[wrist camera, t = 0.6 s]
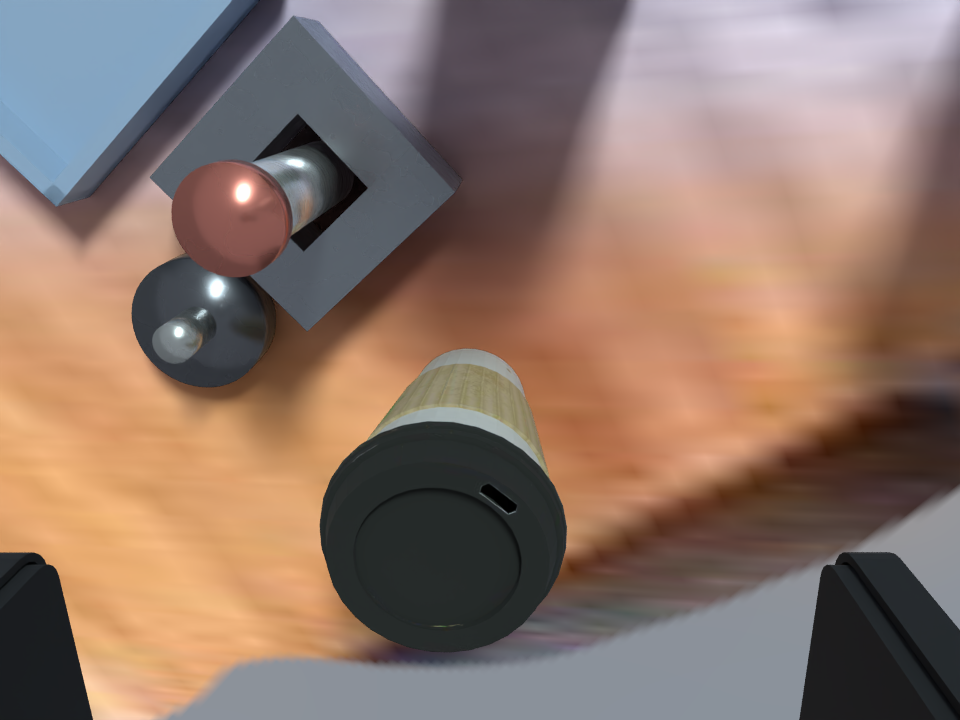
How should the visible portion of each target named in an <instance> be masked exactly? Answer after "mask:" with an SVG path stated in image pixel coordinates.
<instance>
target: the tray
mask: <svg viewBox="0 0 960 720" xmlns="http://www.w3.org/2000/svg"><path fill="white" fill-rule="evenodd" d="M259 1H260V0H0V154H1V155H2V156H3V157H4V158H5V159H6V160H7V161H8V162H9V163H10V164H11V165H12V166H13V167H15V168H16V169H17V170H18V171H19V172H20V173H21V174H22V175H23V176H24V177H25V178H26V179H27V180H28V181H29V182H31V183H32V184H33V185H34V186H35V187H36V188H37V189H38V190H39V191H40V192H41V193H42V194H43V195H44V196H46V197H47V198H48V199H49V200H50V201H51V202H52V203H53V204H54V205H55V206H56V207H57V206H60V205H64V204H67V203H71V202H74V201H78V200H81V199H84V198H88V197H90V196H91V195H92V194H93V193H94V191H95V190H96V189H97V188H98V187H99V186H100V184H101V183H102V182H103V181H104V180H105V179H106V177H107V176H108V175H109V174H110V173H111V172H112V171H113V169H114V168H115V167H116V166H117V165H118V164H119V162H120V161H121V160H122V159H123V158H124V157H125V156H126V154H127V153H128V152H129V151H130V150H131V149H132V147H133V146H134V145H135V144H136V143H137V142H138V141H139V139H140V138H141V137H142V136H143V135H144V134H145V132H146V131H147V130H148V129H149V128H150V127H151V126H152V124H153V123H154V122H155V121H156V120H157V119H158V117H159V116H160V115H161V114H162V113H163V112H164V110H165V109H166V108H167V107H168V106H169V105H170V104H171V102H172V101H173V100H174V99H175V98H176V97H177V95H178V94H179V93H180V92H181V91H182V90H183V89H184V87H185V86H186V85H187V84H188V83H189V82H190V80H191V79H192V78H193V77H194V76H195V75H196V74H197V72H198V71H199V70H200V69H201V68H202V67H203V65H204V64H205V63H206V62H207V61H208V60H209V59H210V57H211V56H212V55H213V54H214V53H215V52H216V50H217V49H218V48H219V47H220V46H221V45H222V43H223V42H224V41H225V40H226V39H227V38H228V37H229V35H230V34H231V33H232V32H233V31H234V30H235V28H236V27H237V26H238V25H239V24H240V23H241V22H242V20H243V19H244V18H245V17H246V16H247V15H248V13H249V12H250V11H251V10H252V9H253V8H254V7H255V5H256V4H257V3H258V2H259Z"/></svg>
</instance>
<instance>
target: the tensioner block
mask: <svg viewBox="0 0 960 720" xmlns="http://www.w3.org/2000/svg"><path fill="white" fill-rule="evenodd" d="M306 124H308V125H309V126H310V127H311V128H312V129H313V130H314V131H315V132H316V133H317V134H318V135H319V137H320V138H321V139H322V140H323V141H324V142H325V143H326V144H327V145H328V146H329V147H330V148H331V149H332V150H333V151H334V152H335V153H336V155H337V156H338V157H339V158H340V159H341V160H342V161H343V162H344V163H345V164H346V165H347V166H348V167H349V168H350V169H351V170H352V171H353V172H354V174H355V175H356V176H357V177H358V178H359V179H360V180H361V181H362V182H363V183H364V184H365V185H366V186H367V187H368V189H367V190H366V191H365V192H364V193H363V194H362V195H361V196H360V197H359V198H358V199H357V200H356V201H355V202H354V203H353V204H352V205H351V206H350V207H349V208H348V209H347V210H346V211H345V212H344V213H343V214H342V215H341V216H340V217H338V218H337V219H336V220H335V221H334V222H333V223H332V224H331V225H330V226H329V227H328V228H327V229H326V230H325V231H324V232H322V231H321V230H320V229H319V228H318V227H317V226H316V225H315V224H314V223H313V222H310V223H309V224H307V225H306V226H304V227H303V228H301V229H300V230H299V231H297V232H296V233H294V234H293V235H291V237H290V240H289V243H288V245H287V247H286V248H285V250H284V252H283V253H282V254H281V255H280V256H279V257H278V258H277V259H276V260H275V261H274V262H272V263H271V264H270V265H268V266H267V267H265V268H264V269H262V270H261V271H259V272H257V273H255V274H252V275H250V276H251V277H252V278H253V279H254V280H255V281H256V282H257V283H258V284H259V285H260V286H261V287H262V288H263V289H264V290H265V291H266V292H267V293H268V294H269V295H270V296H271V297H272V298H273V299H274V300H275V301H277V302H278V303H279V304H280V305H281V306H282V307H283V308H284V309H285V310H286V311H287V312H288V313H289V314H290V315H291V316H292V317H293V318H294V319H295V320H296V321H297V322H298V323H299V324H300V325H301V326H302V327H303V328H304V329H305V330H306V331H308V330H309V329H310V328H311V327H313V326H314V325H315V324H316V323H317V322H318V321H319V320H320V319H321V318H322V317H323V316H324V315H325V314H326V313H327V312H328V311H330V310H331V309H332V308H333V307H334V306H335V305H336V304H337V303H338V302H339V301H340V300H341V299H342V298H343V297H344V296H345V295H347V294H348V293H349V292H350V291H351V290H352V289H353V288H354V287H355V286H356V285H357V284H358V283H359V282H360V281H361V280H362V279H363V278H365V277H366V276H367V275H368V274H369V273H370V272H371V271H372V270H373V269H374V268H375V267H376V266H377V265H378V264H379V263H380V262H382V261H383V260H384V259H385V258H386V257H387V256H388V255H389V254H390V253H391V252H392V251H393V250H394V249H395V248H396V247H397V246H399V245H400V244H401V243H402V242H403V241H404V240H405V239H406V238H407V237H408V236H409V235H410V234H411V233H412V232H413V231H414V230H415V229H417V228H418V227H419V226H420V225H421V224H422V223H423V222H424V221H425V220H426V219H427V218H428V217H429V216H430V215H431V214H432V213H434V212H435V211H436V210H437V209H438V208H439V207H440V206H441V205H442V204H443V203H444V202H445V201H446V200H447V199H448V198H449V197H451V196H452V195H453V194H454V193H455V192H456V190H457V188H458V187H459V185H460V184H461V182H462V181H463V180H462V179H461V178H460V177H459V176H458V174H457V173H456V172H455V171H454V170H453V169H452V168H451V167H450V166H449V165H448V163H447V162H446V161H445V160H444V159H443V158H442V157H441V156H440V155H439V153H438V152H437V151H436V150H435V149H434V148H433V147H432V146H431V145H430V144H429V142H428V141H427V140H426V139H425V138H424V137H423V136H422V135H421V134H420V133H419V131H418V130H417V129H416V128H415V127H414V126H413V125H412V124H411V123H410V122H409V120H408V119H407V118H406V117H405V116H404V115H403V114H402V113H401V112H400V111H399V109H398V108H397V107H396V106H395V105H394V104H393V103H392V102H391V101H390V100H389V98H388V97H387V96H386V95H385V94H384V93H383V92H382V91H381V90H380V89H379V87H378V86H377V85H376V84H375V83H374V82H373V81H372V80H371V79H370V78H369V76H368V75H367V74H366V73H365V72H364V71H363V70H362V69H361V68H360V67H359V65H358V64H357V63H356V62H355V61H354V60H353V59H352V58H351V57H350V56H349V54H348V53H347V52H346V51H345V50H344V49H343V48H342V47H341V46H340V45H339V43H338V42H337V41H336V40H335V39H334V38H333V37H332V36H331V35H330V34H329V32H328V31H327V30H326V29H325V28H324V27H323V26H322V25H321V24H320V23H319V21H316V20H311V19H307V18H302V17H297V16H293V17H292V18H291V19H290V20H289V21H288V22H287V23H286V25H285V26H284V27H283V28H282V29H281V30H280V31H279V32H278V34H277V35H276V36H275V37H274V38H273V39H272V40H271V41H270V43H269V44H268V45H267V46H266V47H265V48H264V49H263V50H262V52H261V53H260V54H259V55H258V56H257V57H256V58H255V59H254V61H253V62H252V63H251V64H250V65H249V66H248V67H247V68H246V70H245V71H244V72H243V73H242V74H241V75H240V76H239V77H238V79H237V80H236V81H235V82H234V83H233V84H232V85H231V86H230V88H229V89H228V90H227V91H226V92H225V93H224V94H223V95H222V97H221V98H220V99H219V100H218V101H217V102H216V103H215V104H214V106H213V107H212V108H211V109H210V110H209V111H208V112H207V113H206V115H205V116H204V117H203V118H202V119H201V120H200V121H199V122H198V124H197V125H196V126H195V127H194V128H193V129H192V130H191V131H190V133H189V134H188V135H187V136H186V137H185V138H184V139H183V140H182V142H181V143H180V144H179V145H178V146H177V147H176V148H175V149H174V151H173V152H172V153H171V154H170V155H169V156H168V157H167V158H166V160H165V161H164V162H163V163H162V164H161V165H160V166H159V167H158V169H157V170H156V171H155V172H154V173H153V174H152V175H151V176H150V178H151V179H152V180H153V181H154V182H155V183H156V184H157V185H158V186H159V187H160V188H161V189H162V190H163V191H164V192H165V193H166V194H167V195H168V196H169V197H170V198H171V199H172V200H173V198H174V195H175V192H176V190H177V188H178V186H179V185H180V183H181V182H182V181H183V179H184V178H185V177H186V176H187V175H188V174H189V173H191V172H192V171H194V170H195V169H197V168H199V167H201V166H204V165H207V164H211V163H214V162H217V161H221V160H232V159H234V160H242V161H246V162H250V163H251V162H254V161H257V160H260V159H263V158H266V157H269V156H272V155H275V154H278V153H280V152H281V151H282V150H283V148H284V147H285V146H286V145H287V144H288V143H289V142H290V141H291V140H292V139H293V138H294V137H295V136H296V135H297V134H298V133H299V132H300V131H301V129H302V128H303V127H304V126H305V125H306Z"/></svg>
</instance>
